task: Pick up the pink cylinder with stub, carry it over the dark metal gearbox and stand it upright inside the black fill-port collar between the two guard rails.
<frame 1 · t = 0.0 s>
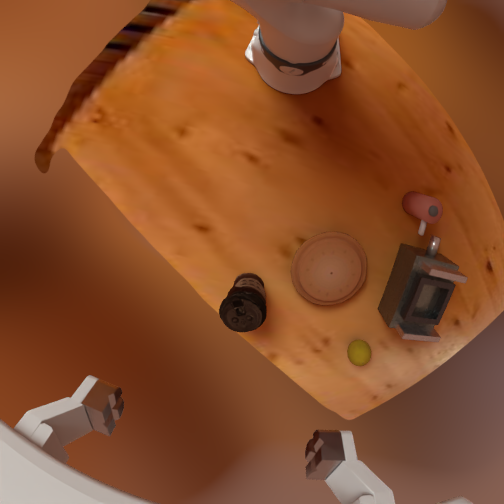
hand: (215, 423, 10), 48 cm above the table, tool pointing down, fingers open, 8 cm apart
pie: (327, 263, 58), on the table
gearbox: (410, 281, 57), on the table
coffee cup: (249, 284, 61), on the table
pink cylinder with stub: (412, 202, 52), on the table
lemon: (355, 342, 63), on the table
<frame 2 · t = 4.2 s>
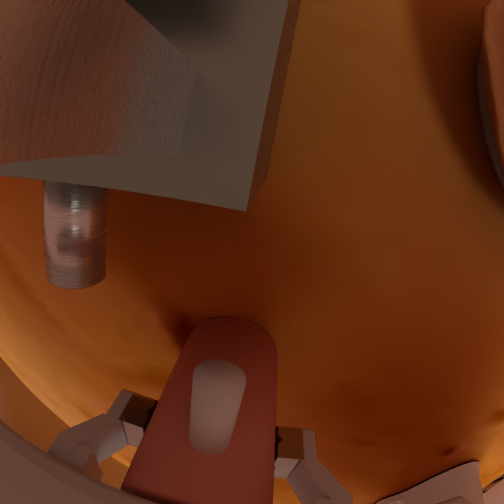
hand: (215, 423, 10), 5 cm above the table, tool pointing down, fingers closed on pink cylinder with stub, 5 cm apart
gearbox: (169, 2, 9), on the table
pink cylinder with stub: (231, 354, 14), on the table, touching gripper
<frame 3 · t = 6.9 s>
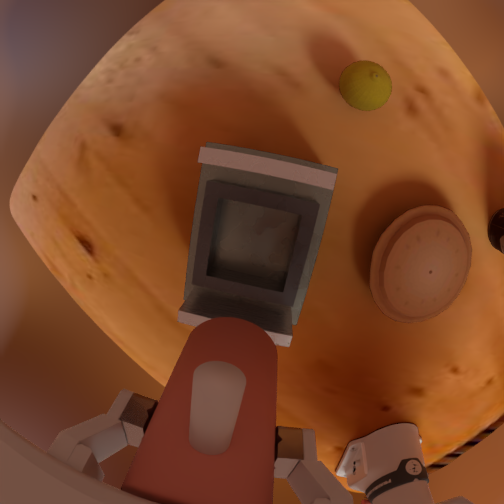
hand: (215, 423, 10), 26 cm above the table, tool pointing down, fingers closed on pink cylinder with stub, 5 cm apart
pie: (413, 257, 34), on the table
gearbox: (260, 222, 34), on the table
coffee cup: (499, 229, 30), on the table
pink cylinder with stub: (231, 355, 14), point 22 cm above the table, touching gripper
lemon: (355, 94, 28), on the table
when the fingers open (14 cm above the table, at t = 9.7 s): pink cylinder with stub drops 1 cm, resting on gearbox.
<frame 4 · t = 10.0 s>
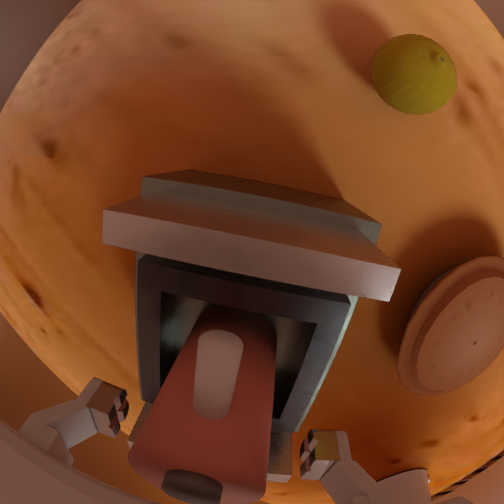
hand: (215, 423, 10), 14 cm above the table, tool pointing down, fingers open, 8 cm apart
pie: (450, 315, 23), on the table
gearbox: (247, 281, 23), on the table
pink cylinder with stub: (234, 340, 15), point 8 cm above the table, touching gearbox
lemon: (390, 87, 17), on the table
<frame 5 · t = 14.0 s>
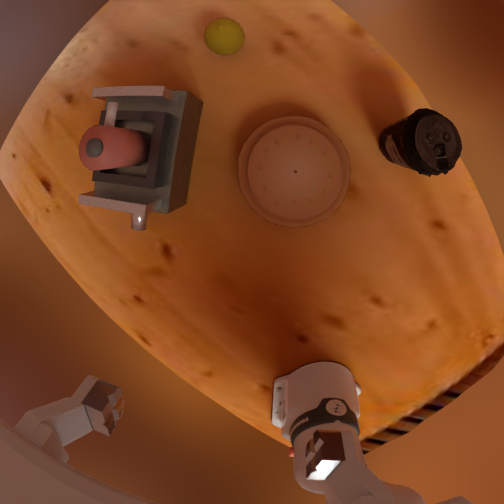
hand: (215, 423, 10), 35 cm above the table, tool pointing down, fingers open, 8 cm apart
pie: (293, 170, 40), on the table
gearbox: (157, 148, 41), on the table
coffee cup: (396, 145, 37), on the table
pink cylinder with stub: (134, 148, 33), point 8 cm above the table, touching gearbox
lemon: (229, 46, 35), on the table
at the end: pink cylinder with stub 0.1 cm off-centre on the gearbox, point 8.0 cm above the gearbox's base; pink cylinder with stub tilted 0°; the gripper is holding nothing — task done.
